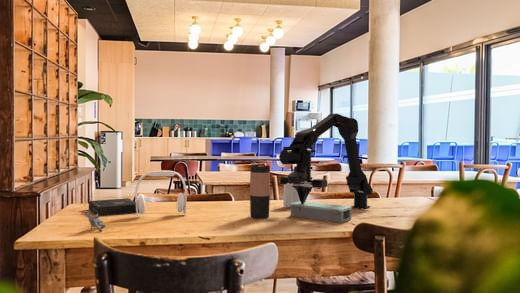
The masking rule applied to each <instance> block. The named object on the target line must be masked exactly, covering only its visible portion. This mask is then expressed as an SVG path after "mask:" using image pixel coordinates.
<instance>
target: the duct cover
mask: <svg viewBox="0 0 520 293" xmlns="http://www.w3.org/2000/svg"><path fill="white" fill-rule="evenodd" d="M290 206H293V209H295V210H300V207H306V208H314V209H322V210H330V214H333V215H338V212H344V211H347V210H350V209H351V210H352V209H353V207H351V206H352V205H351V206H350V205H343V204H342V205H341V204H333V203H323V202H315V201H305V203H304V204H301V202H300V201H298V202H294V203H290Z"/></svg>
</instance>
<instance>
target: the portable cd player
mask: <svg viewBox="0 0 520 293" xmlns="http://www.w3.org/2000/svg"><path fill="white" fill-rule="evenodd" d="M88 211H89V212H91V213H92V214H94V215H97V213H98V216H100V217H105V216H106V217H107V216H117V215H118V216H119V215H128V214H136V200H133V199H131V198H128V197H127V198H114V199H113V198H112V199H101V200H88ZM138 214H140V213H139V209H138Z"/></svg>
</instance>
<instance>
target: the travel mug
mask: <svg viewBox="0 0 520 293" xmlns="http://www.w3.org/2000/svg"><path fill="white" fill-rule="evenodd" d="M249 176H250V177H249V180H250V181H249V187H250V188H249V203H250V204H249V208H250V210H249V211H250V214H249V215H250V218H251V219H255V220H256V219H257V220H262V219H263V220H264V219H268V218H269V217H270V201H271V200H270V199H271V198H270V197H271V165H269V164H266V165H264V166H263V165H261V164H252V165H250V175H249Z"/></svg>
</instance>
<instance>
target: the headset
mask: <svg viewBox="0 0 520 293" xmlns="http://www.w3.org/2000/svg"><path fill="white" fill-rule="evenodd" d="M147 175H148V176H149V177H174V176H178V177H179V178H180V180H181V182H182V184H183V189H184V193H182V192H179V193H178V195H177V198H176V210H177V212H178V213H182V212H183V215H184V216H186V211H187V200H188V199H187V198H188V188H187V185H186V181H185V179H184V177H183V176H182V174H180V173H179V172H178V171H177V172H176V171H174V170H164V169H163V170H150V171H146V172H145V173H143V174H142V175H141V176H140V177H139V178H138V180H137V182H136V186H135V188H134V199H135V202H136V213H135V214H136V219H137V220H138V219H139V214H141V215H142V214H144V213H146V212H145V211H146V206H145V205H146V204H145V196H144V194H143V193H139V194H138V190H139V186H140V184H141V182H142V180H143V178H145V177H146V176H147ZM138 209H139V213H138Z"/></svg>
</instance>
